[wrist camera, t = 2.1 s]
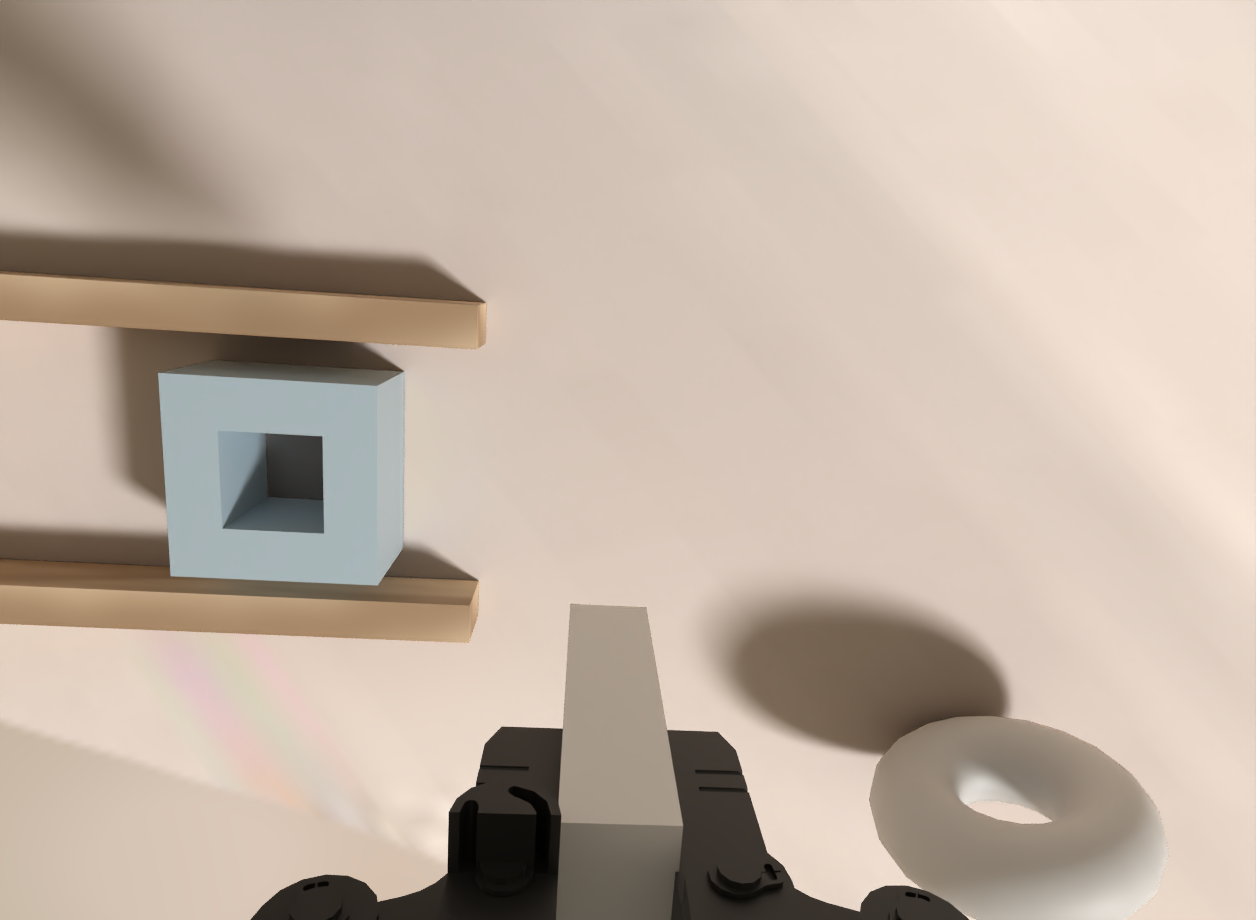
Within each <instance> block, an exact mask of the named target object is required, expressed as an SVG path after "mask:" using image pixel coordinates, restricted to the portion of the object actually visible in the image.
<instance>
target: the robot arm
mask: <svg viewBox="0 0 1256 920" xmlns="http://www.w3.org/2000/svg"><path fill="white" fill-rule="evenodd" d="M251 920H969V919H968V918H967V917H966V916H965V915H963V914H962V913H961V912H960V911H959V910H958V909H956V908H955V907H954V906H953V905H952V904H951V903H949V902H948V901H946V900H944V899H942V898H940V897H938V896H936V895H934V894H932V893H930V892H928V891H925V890H921V889H917V888H913V887H909V886H884V887H882V888H879V889H876V890H874V891H871V892H870V893H869V894H868V896H867V897H866V898H865V899H864V901H863V902H862V903H861V909H860V912H858V911H855V910H851V909H847V908H844V907H840V906H836V905H833V904H829V903H826V902H823V901H820V900H818V899H815V898H812V897H810V896H808V895H806V894H804V893H802V892H801V891H799V890H797V889H795V888H794V885H793V882H792V880H791V878H790V876H789V875H788V873H787V871H786V870H785V868H784V866H783V865H782V864H780V863H779V862H778V861H777V860H776V859H774V858H773V857H772V856H771V855H769V854H768V853H767V850H766V847H765V844H764V841H763V837H762V834H761V831H760V828H759V824H758V821H757V818H756V814H755V811H754V808H753V805H752V801H751V798H750V795H749V793H748V792H747V785H746V782H745V779H744V775H742V769H741V766H740V762H739V759H738V756H737V753H736V750H735V749H734V748H733V747H732V746H731V745H730V744H729V743H728V742H727V741H726V740H725V739H724V738H723V737H722V736H721V735H720V734H719V733H718V732H704V731H676V730H667V727H666V721H665V715H664V710H663V704H662V698H661V692H660V686H659V680H658V674H657V668H656V662H655V656H654V650H653V645H652V639H651V633H650V627H649V621H648V615H647V609H646V607H626V606H604V605H581V604H570V620H569V637H568V653H567V670H566V686H565V703H564V720H563V729H554V728H526V727H501V728H500V729H499V730H498V731H497V732H496V733H495V734H494V735H493V736H492V737H491V738H490V739H489V740H488V742H487V743H486V744H485V746H484V750H483V755H482V759H481V764H480V769H479V772H478V777H477V781H476V787H473V788H471V789H469V790H468V791H466V792H465V793H464V794H462V795H461V796H460V797H458V798H457V799H456V801H455V802H454V804H453V806H452V808H451V809H450V811H449V833H448V873H447V874H446V875H445V876H444V877H442V878H441V879H440V880H439V881H437V882H436V883H435V884H433V885H431V886H429V887H427V888H425V889H423V890H421V891H419V892H415V893H412V894H409V895H406V896H402V897H398V898H394V899H389V900H385V901H380V902H377V896H376V894H374V892H373V891H372V890H371V889H370V888H369V886H368V885H367V884H366V883H364V882H362V881H359V880H357V879H354V878H352V877H349V876H339V875H322V876H318V877H313V878H309V879H303V880H301V881H299V882H297V883H295V884H292V885H290V886H289V887H286V888H284V889H282V890H280V891H279V892H278V893H277V894H275V895H274V896H273V897H272V898H271V899H270V900H269V901H267V902H266V903H265V904H264V905H263V906H262V907H261V908H260V909H259V911H258V912H257V913H256V914H255V915H254V916H253V917H252V919H251Z"/></svg>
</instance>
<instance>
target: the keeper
mask: <svg viewBox="0 0 1256 920" xmlns="http://www.w3.org/2000/svg"><path fill="white" fill-rule="evenodd" d="M158 380H159V396H160V412H161V429H162V445H163V461H164V477H165V493H166V509H167V525H168V542H169V558H170V574H171V576H178V577H200V578H222V579H245V580H267V581H289V582H311V583H333V584H356V585H378V584H379V583H380V581H381V580H382V578H383V577H384V575H385V574H386V572H387V571H388V570H389V568H390V567H391V565H392V564H393V562H394V561H395V559H396V558H397V556H398V555H399V553H400V552H401V550H402V549H403V535H404V372H403V371H386V370H370V369H353V368H337V367H320V366H303V365H287V364H270V363H254V362H237V361H221V360H212V361H208V362H203V363H199V364H195V365H190V366H186V367H182V368H177V369H173V370H169V371H164V372H160V373H158ZM266 433H271V434H289V435H307V436H322V440H323V498H324V500H315V499H295V498H276V497H268V487H267V457H266Z"/></svg>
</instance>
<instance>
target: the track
mask: <svg viewBox="0 0 1256 920" xmlns="http://www.w3.org/2000/svg"><path fill="white" fill-rule="evenodd" d="M0 320H12V321H28V322H44V323H60V324H76V325H92V326H108V327H124V328H140V329H156V330H172V331H188V332H205V333H221V334H237V335H253V336H269V337H285V338H301V339H317V340H333V341H349V342H365V343H381V344H397V345H413V346H429V347H445V348H461V349H478V348H479V347H481V346H482V345H484V344H485V338H486V303H481V302H466V301H451V300H436V299H420V298H405V297H390V296H375V295H360V294H344V293H329V292H314V291H299V290H284V289H268V288H253V287H238V286H223V285H208V284H192V283H177V282H162V281H147V280H131V279H116V278H101V277H86V276H71V275H55V274H40V273H25V272H10V271H0ZM478 593H479V581H472V580H450V579H428V578H406V577H383V578H382V580H381V581H380V583H379V584H378V585H356V584H333V583H311V582H289V581H267V580H245V579H222V578H200V577H178V576H171V574H170V567H165V566H143V565H121V564H99V563H77V562H55V561H33V560H11V559H0V624H21V625H46V626H70V627H94V628H119V629H143V630H167V631H192V632H216V633H240V634H265V635H289V636H313V637H338V638H362V639H386V640H411V641H435V642H460V643H469V641H470V638H471V635H472V632H473V629H474V626H475V623H476V620H477V617H478Z"/></svg>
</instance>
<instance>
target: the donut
mask: <svg viewBox="0 0 1256 920" xmlns="http://www.w3.org/2000/svg"><path fill="white" fill-rule="evenodd" d="M869 801H870V806H871V810H872V814H873V818H874V822H875V825H876V829H877V833H878V837H879V840H880V841H881V843H882V844H883V846H884V847H885V849H886V850H887V851H888V853H889V854H890V855H891V857H892V858H893V859H894V861H895V862H896V863H897V865H898V866H899V867H900V869H901V870H902V871H903V873H904V874H905V876H906V877H907V878H909V879H910V880H911V881H913V882H914V883H915V884H917V885H918V886H919V887H920V888H922V889H923V890H925V891H928V892H930V893H932V894H934V895H936V896H938V897H940V898H942V899H944V900H946V901H948V902H949V903H951V904H952V905H953V906H954V907H955V908H956V909H958V910H959V911H960V912H961V913H963V914H965V915H967V916H970V917H972V918H974V919H976V920H1126V919H1127V918H1129V917H1130V916H1131V915H1132V914H1134V913H1135V912H1136V911H1137V910H1139V909H1140V908H1141V907H1142V906H1144V905H1145V904H1146V903H1147V902H1148V901H1150V900H1151V899H1152V898H1153V897H1154V896H1155V895H1156V892H1157V889H1158V887H1159V884H1160V881H1161V878H1162V875H1163V872H1164V869H1165V866H1166V863H1167V860H1168V857H1169V852H1168V845H1167V840H1166V836H1165V832H1164V828H1163V824H1162V820H1161V816H1160V812H1159V811H1158V809H1157V807H1156V805H1155V804H1154V802H1153V800H1152V799H1151V798H1150V796H1149V795H1148V794H1147V793H1146V791H1145V790H1144V789H1143V787H1142V786H1141V785H1140V784H1139V782H1138V781H1137V780H1136V778H1135V777H1134V776H1133V775H1132V774H1131V773H1130V772H1129V771H1127V770H1126V769H1125V768H1124V767H1122V766H1121V765H1120V764H1118V763H1117V762H1116V761H1114V760H1113V759H1112V758H1110V757H1109V756H1108V755H1106V754H1105V753H1104V752H1102V751H1101V750H1100V749H1098V748H1097V747H1095V746H1093V745H1091V744H1089V743H1087V742H1085V741H1083V740H1081V739H1078V738H1076V737H1074V736H1072V735H1070V734H1068V733H1066V732H1064V731H1061V730H1057V729H1054V728H1051V727H1047V726H1044V725H1040V724H1037V723H1033V722H1030V721H1026V720H1019V719H1011V718H1004V717H996V716H965V717H954V718H949V719H945V720H940V721H936V722H931V723H928V724H926V725H924V726H922V727H920V728H918V729H916V730H914V731H912V732H910V733H908V734H906V735H904V736H903V737H901V738H899V739H898V740H897V741H896V742H895V743H894V744H893V745H892V746H891V748H890V749H889V750H888V751H887V752H886V753H885V754H884V755H883V757H882V758H881V759H880V761H879V762H878V764H877V766H876V770H875V774H874V778H873V783H872V787H871V792H870V798H869ZM977 802H1002V803H1008V804H1014V805H1019V806H1022V807H1024V808H1027V809H1030V810H1033V811H1036V812H1038V813H1040V814H1042V815H1043V816H1045V817H1047V818H1048V819H1050V820H1052V821H1053V822H1049V823H1045V824H1019V823H1013V822H1008V821H1002V820H997V819H994V818H992V817H989V816H987V815H984V814H981V813H979V812H976V811H974V810H973V809H971V808H969V807H968V806H966V805H968V804H972V803H977Z"/></svg>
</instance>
